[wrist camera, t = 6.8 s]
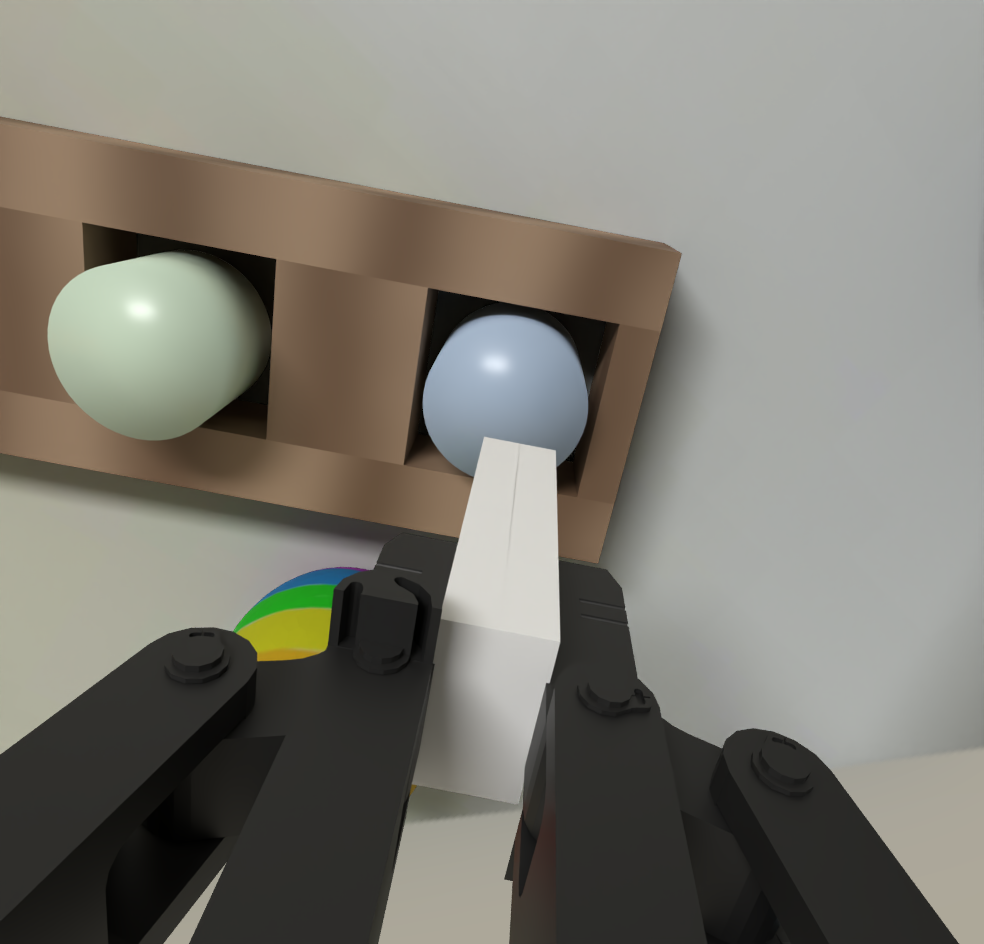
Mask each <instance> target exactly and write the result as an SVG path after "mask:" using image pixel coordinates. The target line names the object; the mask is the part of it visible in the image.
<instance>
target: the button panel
mask: <svg viewBox="0 0 984 944" xmlns="http://www.w3.org/2000/svg"><path fill="white" fill-rule="evenodd" d="M137 233H141V234H146V235H152V236H157V237H162V238H168V239H173V240H178V241H183V242H189V243H194V244H199V245H205V246H210V247H215V248H220V249H226V250H231V251H236V252H242V253H247V254H252V255H258V256H263V257H268V258H273V259H276V274H275V292H274V310H273V328H272V346H271V364H270V382H269V400H268V405H263V404H258V403H252V402H247V401H242V400H236V399H234V400H233V401H232V402H230V403H229V404H228V405H226V406H225V407H224V408H222V409H221V410H220V411H218V412H217V413H216V414H214V415H213V416H212V417H210V418H209V419H208V420H206V421H205V422H204V423H202V424H201V425H200V426H198V427H197V428H195V429H194V430H192V431H191V432H189V433H186V434H184V435H182V436H179V437H176V438H172V439H167V440H142V439H136V438H132V437H128V436H125V435H122V434H119V433H117V432H114V431H112V430H110V429H108V428H106V427H105V426H103V425H101V424H100V423H98V422H97V421H95V420H94V419H93V418H91V417H90V416H89V415H88V414H86V413H85V412H84V411H83V410H82V409H81V408H80V407H79V406H78V405H77V404H76V403H75V402H74V400H73V399H72V398H71V397H70V396H69V394H68V393H67V391H66V390H65V388H64V387H63V385H62V384H61V382H60V380H59V378H58V376H57V374H56V371H55V369H54V366H53V364H52V360H51V357H50V353H49V346H48V322H49V316H50V313H51V310H52V307H53V304H54V302H55V300H56V298H57V296H58V295H59V293H60V292H61V291H62V289H63V288H64V287H65V286H66V285H67V284H68V283H69V282H70V281H71V280H72V279H74V278H75V277H76V276H78V275H79V274H81V273H83V272H85V271H87V270H89V269H92V268H95V267H98V266H103V265H107V264H112V263H116V262H121V261H125V260H130V259H135V258H137ZM681 254H682V253H680V252H678V251H677V250H675V249H673V248H672V247H670V246H668V245H666V244H665V243H660V242H655V241H650V240H645V239H639V238H634V237H629V236H624V235H618V234H613V233H608V232H603V231H597V230H592V229H587V228H582V227H576V226H571V225H566V224H561V223H555V222H550V221H545V220H540V219H534V218H529V217H524V216H519V215H513V214H508V213H503V212H498V211H492V210H487V209H482V208H477V207H471V206H466V205H461V204H456V203H451V202H445V201H440V200H435V199H430V198H424V197H419V196H414V195H409V194H403V193H398V192H393V191H388V190H382V189H377V188H372V187H367V186H361V185H356V184H351V183H346V182H340V181H335V180H330V179H325V178H319V177H314V176H309V175H304V174H298V173H293V172H288V171H283V170H277V169H272V168H267V167H262V166H256V165H251V164H246V163H241V162H235V161H230V160H225V159H220V158H214V157H209V156H204V155H199V154H193V153H188V152H183V151H178V150H172V149H167V148H162V147H157V146H151V145H146V144H141V143H136V142H130V141H125V140H120V139H115V138H109V137H104V136H99V135H94V134H89V133H83V132H78V131H73V130H68V129H62V128H57V127H52V126H47V125H41V124H36V123H31V122H26V121H20V120H15V119H10V118H5V117H0V453H2V454H8V455H13V456H19V457H24V458H29V459H35V460H40V461H46V462H51V463H57V464H62V465H67V466H73V467H78V468H84V469H89V470H94V471H100V472H105V473H111V474H116V475H121V476H127V477H132V478H138V479H143V480H149V481H154V482H159V483H165V484H170V485H176V486H181V487H186V488H192V489H197V490H203V491H208V492H213V493H219V494H224V495H230V496H235V497H241V498H246V499H251V500H257V501H262V502H268V503H273V504H278V505H284V506H289V507H295V508H300V509H305V510H311V511H316V512H322V513H327V514H333V515H338V516H343V517H349V518H354V519H360V520H365V521H370V522H376V523H381V524H387V525H392V526H397V527H403V528H408V529H414V530H419V531H425V532H430V533H435V534H441V535H446V536H452V537H457V538H459V537H460V533H461V529H462V524H463V520H464V516H465V512H466V508H467V504H468V500H469V496H470V492H471V488H472V484H473V480H474V477H472V476H470V475H468V474H466V473H464V472H463V471H461V470H459V469H458V468H457V467H455V466H454V465H453V464H451V463H450V462H449V461H448V460H447V459H446V458H445V457H444V456H443V455H442V454H441V452H440V451H439V450H438V449H437V447H436V446H435V444H434V443H433V441H432V439H431V437H430V436H429V435H424V434H419V433H418V430H419V423H420V416H421V410H422V403H423V392H424V387H425V382H426V375H427V368H428V361H429V354H430V347H431V340H432V333H433V326H434V319H435V312H436V305H437V298H438V291H439V290H443V291H448V292H453V293H459V294H464V295H469V296H474V297H480V298H485V299H490V300H496V301H501V302H506V303H511V304H517V305H522V306H527V307H533V308H538V309H543V310H548V311H554V312H559V313H564V314H570V315H575V316H580V317H585V318H591V319H596V320H601V321H607V322H606V326H605V330H604V334H603V338H602V343H601V347H600V351H599V355H598V359H597V363H596V368H595V372H594V376H593V380H592V384H591V389H590V393H589V397H588V415H587V421H586V425H585V428H584V432H583V434H582V436H581V438H580V440H579V442H578V444H577V447H576V452H575V456H574V460H573V462H569V461H563V462H562V463H561V464H560V465H559V466H557V467H556V480H557V522H558V556H560V557H565V558H571V559H576V560H581V561H587V562H592V563H598V562H599V558H600V555H601V551H602V547H603V544H604V540H605V536H606V532H607V529H608V525H609V521H610V518H611V514H612V510H613V507H614V503H615V499H616V495H617V492H618V488H619V484H620V481H621V477H622V473H623V469H624V466H625V462H626V458H627V455H628V451H629V447H630V444H631V440H632V436H633V432H634V429H635V425H636V421H637V418H638V414H639V410H640V406H641V403H642V399H643V395H644V392H645V388H646V384H647V380H648V377H649V373H650V369H651V366H652V362H653V358H654V355H655V351H656V347H657V343H658V340H659V336H660V332H661V329H662V325H663V321H664V317H665V314H666V310H667V306H668V303H669V299H670V295H671V292H672V288H673V284H674V280H675V277H676V273H677V269H678V266H679V262H680V258H681Z"/></svg>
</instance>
